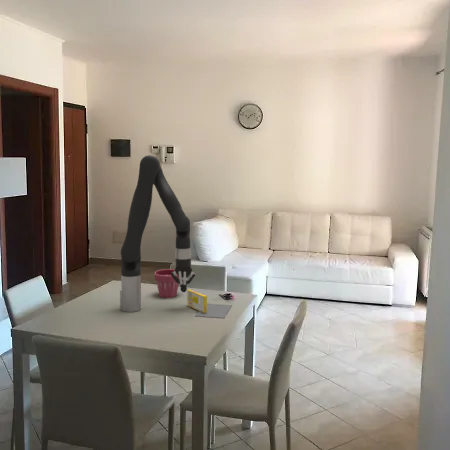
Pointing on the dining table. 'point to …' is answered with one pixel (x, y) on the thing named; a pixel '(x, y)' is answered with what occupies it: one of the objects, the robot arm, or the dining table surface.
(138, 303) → the robot arm
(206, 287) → the dining table surface
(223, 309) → the mat
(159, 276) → the plant pot
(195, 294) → the candy box
